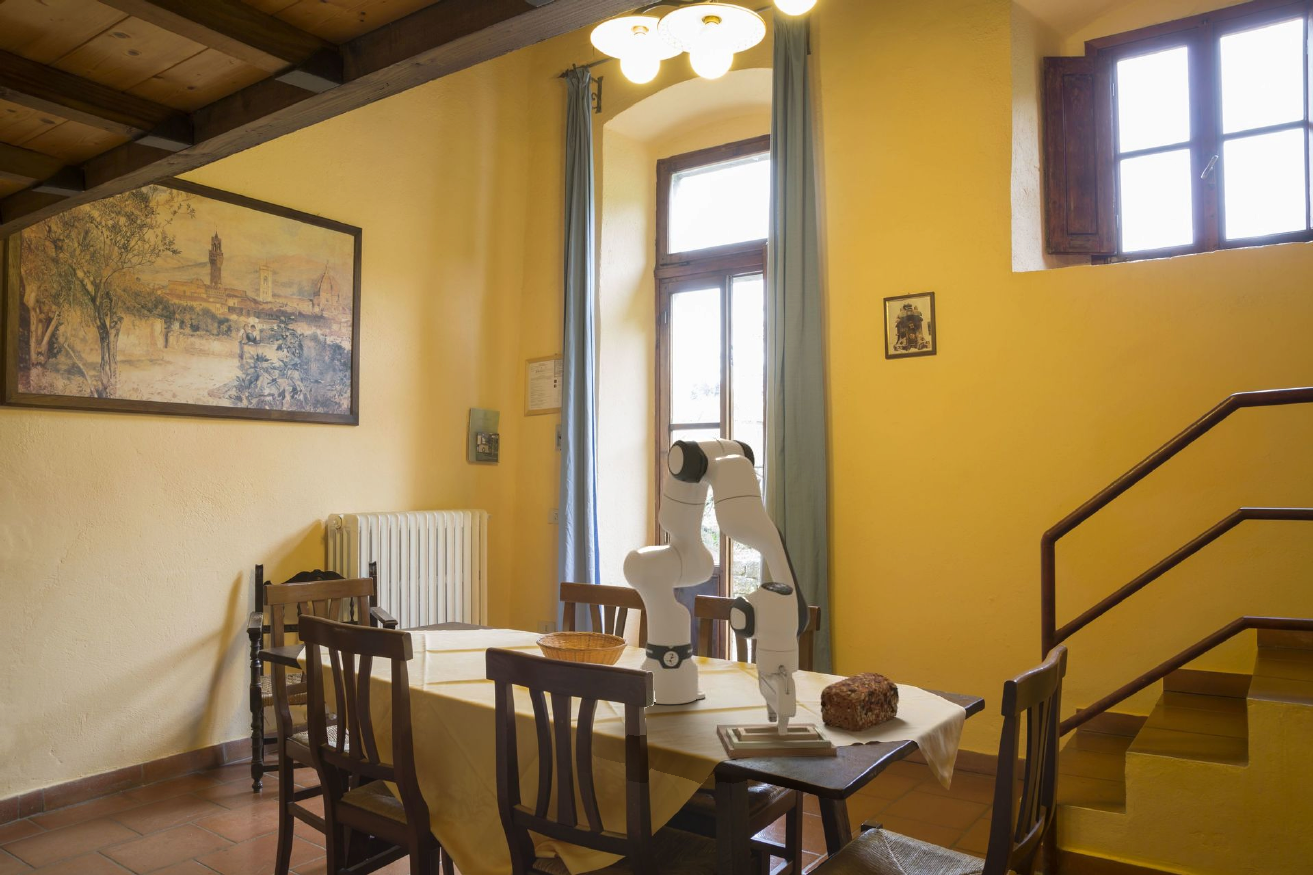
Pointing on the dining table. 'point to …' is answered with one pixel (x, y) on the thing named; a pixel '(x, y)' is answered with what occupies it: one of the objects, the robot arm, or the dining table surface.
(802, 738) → the frame
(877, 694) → the bread
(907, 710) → the dining table surface
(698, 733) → the dining table surface
